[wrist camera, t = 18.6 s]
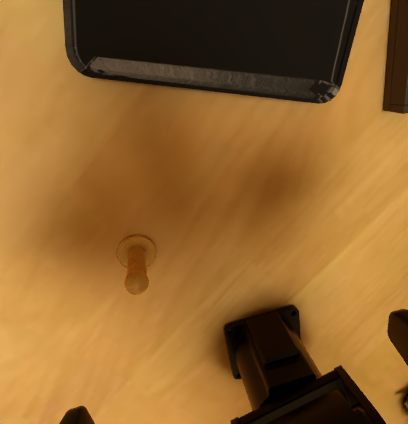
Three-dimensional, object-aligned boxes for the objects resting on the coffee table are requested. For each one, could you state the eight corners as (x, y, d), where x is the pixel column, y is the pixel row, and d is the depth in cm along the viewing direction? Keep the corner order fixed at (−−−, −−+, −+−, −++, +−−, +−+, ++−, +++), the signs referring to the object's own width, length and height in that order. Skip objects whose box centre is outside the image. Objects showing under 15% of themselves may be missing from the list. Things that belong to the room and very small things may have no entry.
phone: (335, 105, 18) (66, 74, 15) (325, 103, 19) (71, 74, 16) (380, -61, 15) (54, -146, 12) (365, -53, 16) (60, -129, 13)
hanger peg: (159, 261, 22) (164, 300, 18) (123, 271, 22) (120, 313, 18) (150, 230, 21) (153, 265, 17) (112, 240, 21) (106, 277, 17)
